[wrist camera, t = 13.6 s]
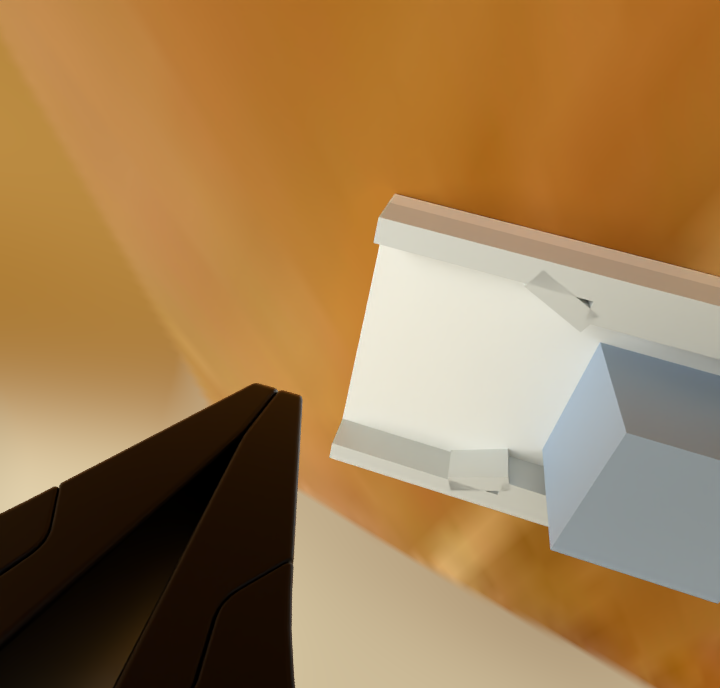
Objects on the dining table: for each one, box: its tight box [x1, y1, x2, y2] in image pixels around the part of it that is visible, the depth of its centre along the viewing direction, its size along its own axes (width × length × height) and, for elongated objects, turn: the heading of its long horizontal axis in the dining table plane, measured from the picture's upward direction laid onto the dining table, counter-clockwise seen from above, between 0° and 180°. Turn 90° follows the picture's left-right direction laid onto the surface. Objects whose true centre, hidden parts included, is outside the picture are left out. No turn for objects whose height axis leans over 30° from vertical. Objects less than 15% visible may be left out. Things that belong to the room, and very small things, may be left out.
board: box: [329, 194, 720, 527], centre depth 18 cm, size 14×10×2 cm
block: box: [542, 342, 720, 604], centre depth 16 cm, size 5×5×4 cm
